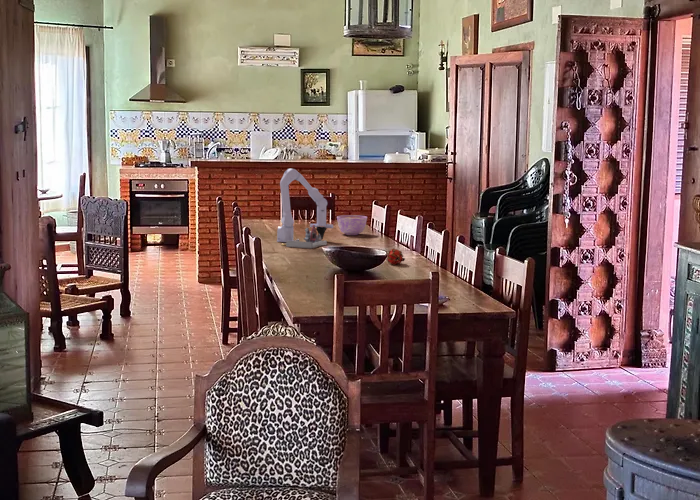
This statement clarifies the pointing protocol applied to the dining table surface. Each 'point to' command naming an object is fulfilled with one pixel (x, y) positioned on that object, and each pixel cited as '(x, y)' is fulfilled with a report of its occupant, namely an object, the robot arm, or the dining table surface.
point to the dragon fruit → (395, 257)
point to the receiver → (304, 244)
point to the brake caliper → (312, 235)
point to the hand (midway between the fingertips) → (321, 239)
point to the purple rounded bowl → (351, 224)
